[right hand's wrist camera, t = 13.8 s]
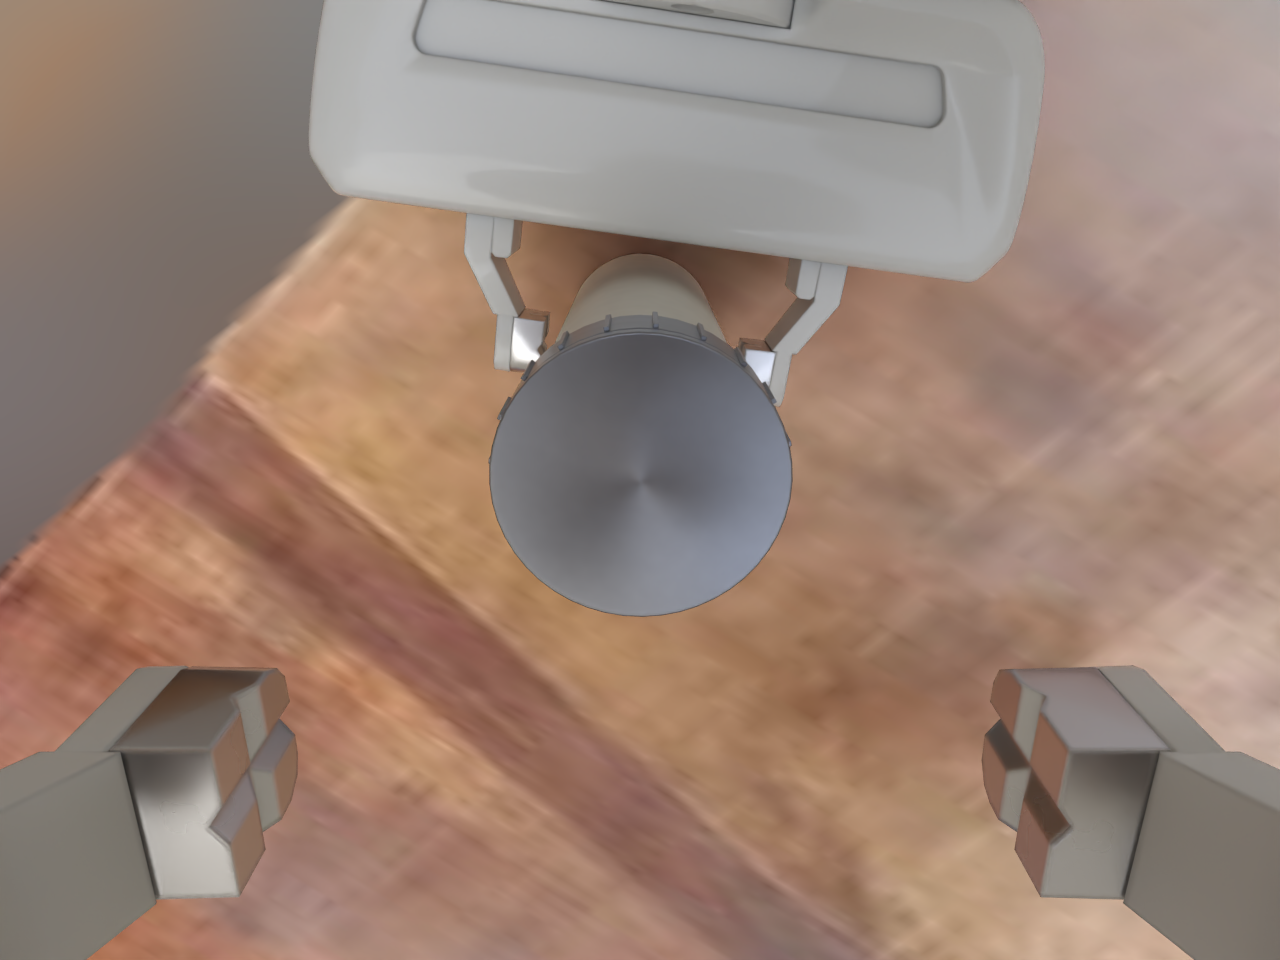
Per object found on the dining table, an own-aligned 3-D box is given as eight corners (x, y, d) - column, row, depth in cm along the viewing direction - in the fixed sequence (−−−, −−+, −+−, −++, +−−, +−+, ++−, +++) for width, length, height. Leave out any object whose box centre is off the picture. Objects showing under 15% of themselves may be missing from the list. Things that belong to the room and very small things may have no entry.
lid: (477, 543, 20) (460, 582, 18) (533, 278, 18) (521, 292, 16) (735, 603, 20) (744, 647, 19) (817, 352, 18) (837, 374, 17)
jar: (556, 375, 34) (486, 561, 18) (588, 237, 32) (539, 313, 17) (689, 408, 34) (730, 617, 19) (728, 274, 33) (808, 382, 17)
